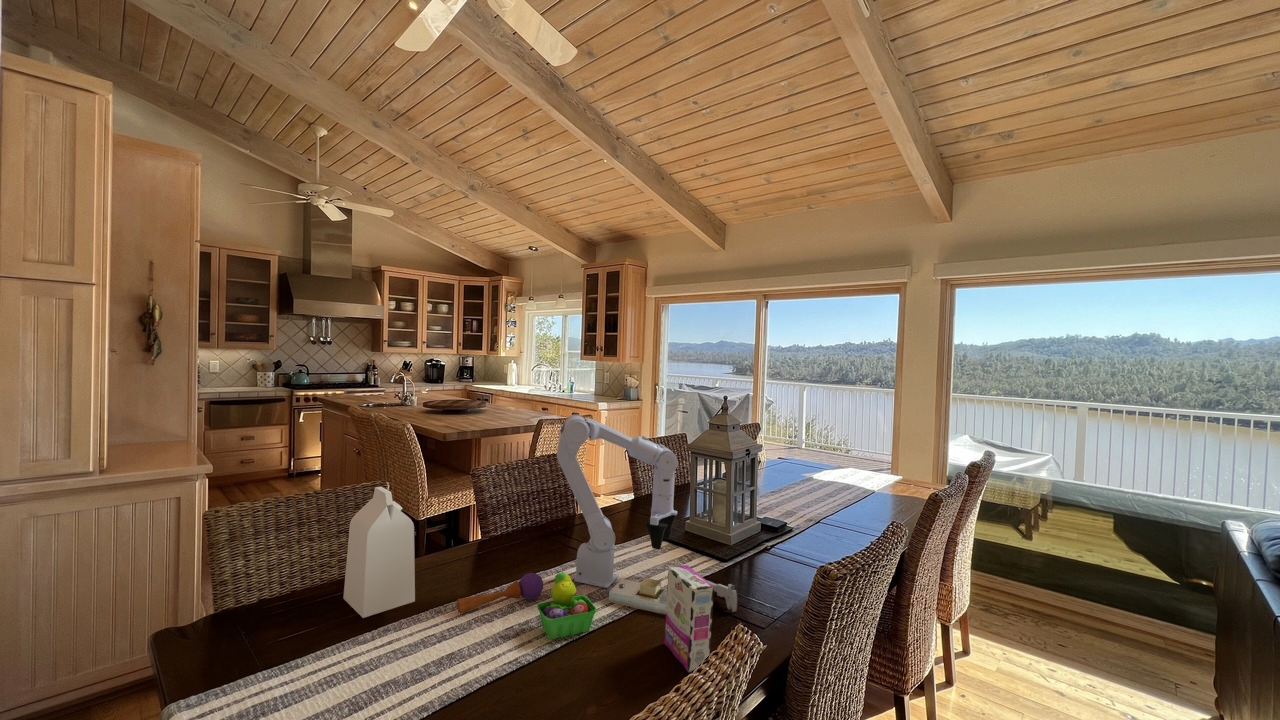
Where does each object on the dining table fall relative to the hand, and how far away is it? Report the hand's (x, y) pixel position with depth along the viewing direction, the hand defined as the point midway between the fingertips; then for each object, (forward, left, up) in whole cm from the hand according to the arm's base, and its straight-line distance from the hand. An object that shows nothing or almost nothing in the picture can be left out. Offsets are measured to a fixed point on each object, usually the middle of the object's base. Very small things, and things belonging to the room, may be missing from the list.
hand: (660, 543), depth 144 cm
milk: (-56, -40, -10) cm, 69 cm away
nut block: (+2, -14, -10) cm, 17 cm away
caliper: (+15, -3, -10) cm, 18 cm away
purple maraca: (-30, -29, -10) cm, 43 cm away
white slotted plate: (+2, -14, -9) cm, 17 cm away
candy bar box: (+16, -32, -10) cm, 37 cm away
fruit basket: (-11, -33, -10) cm, 36 cm away
